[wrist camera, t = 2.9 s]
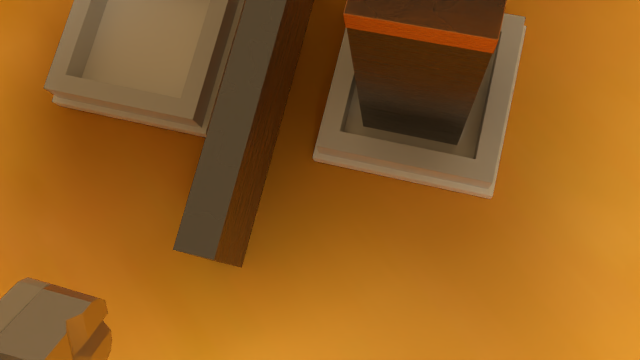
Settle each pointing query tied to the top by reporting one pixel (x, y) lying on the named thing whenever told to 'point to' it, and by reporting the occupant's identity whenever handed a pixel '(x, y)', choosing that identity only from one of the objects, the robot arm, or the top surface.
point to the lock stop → (421, 62)
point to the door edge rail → (243, 131)
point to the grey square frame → (417, 153)
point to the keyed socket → (146, 60)
